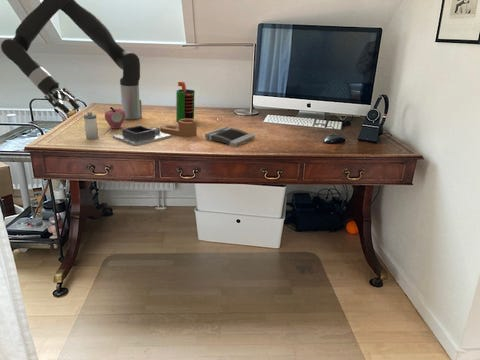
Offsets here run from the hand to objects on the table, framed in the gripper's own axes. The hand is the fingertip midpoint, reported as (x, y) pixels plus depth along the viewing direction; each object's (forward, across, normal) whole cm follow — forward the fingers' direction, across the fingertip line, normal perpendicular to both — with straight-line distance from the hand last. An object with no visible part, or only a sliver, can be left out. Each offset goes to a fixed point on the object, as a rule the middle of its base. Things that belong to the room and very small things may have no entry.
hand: (73, 110), depth 166 cm
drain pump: (+13, 0, +3) cm, 14 cm away
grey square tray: (+56, +15, -38) cm, 69 cm away
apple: (+16, +18, +1) cm, 24 cm away
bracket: (+38, +17, -20) cm, 46 cm away
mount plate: (+28, +6, -11) cm, 31 cm away
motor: (+36, +42, -19) cm, 58 cm away
